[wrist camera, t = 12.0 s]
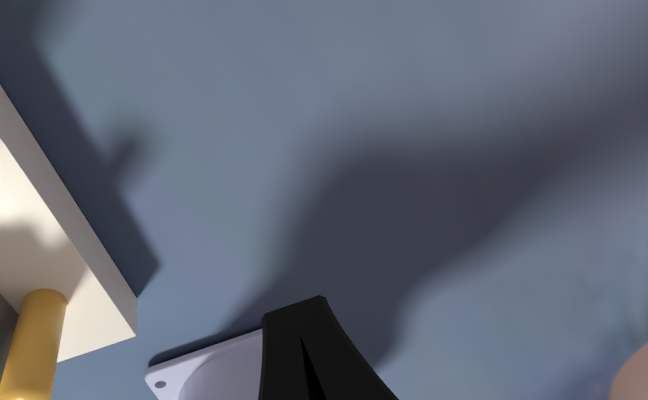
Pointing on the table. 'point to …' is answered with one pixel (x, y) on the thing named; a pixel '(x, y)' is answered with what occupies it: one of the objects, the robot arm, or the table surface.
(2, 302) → the knob
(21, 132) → the switch panel
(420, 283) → the table surface
